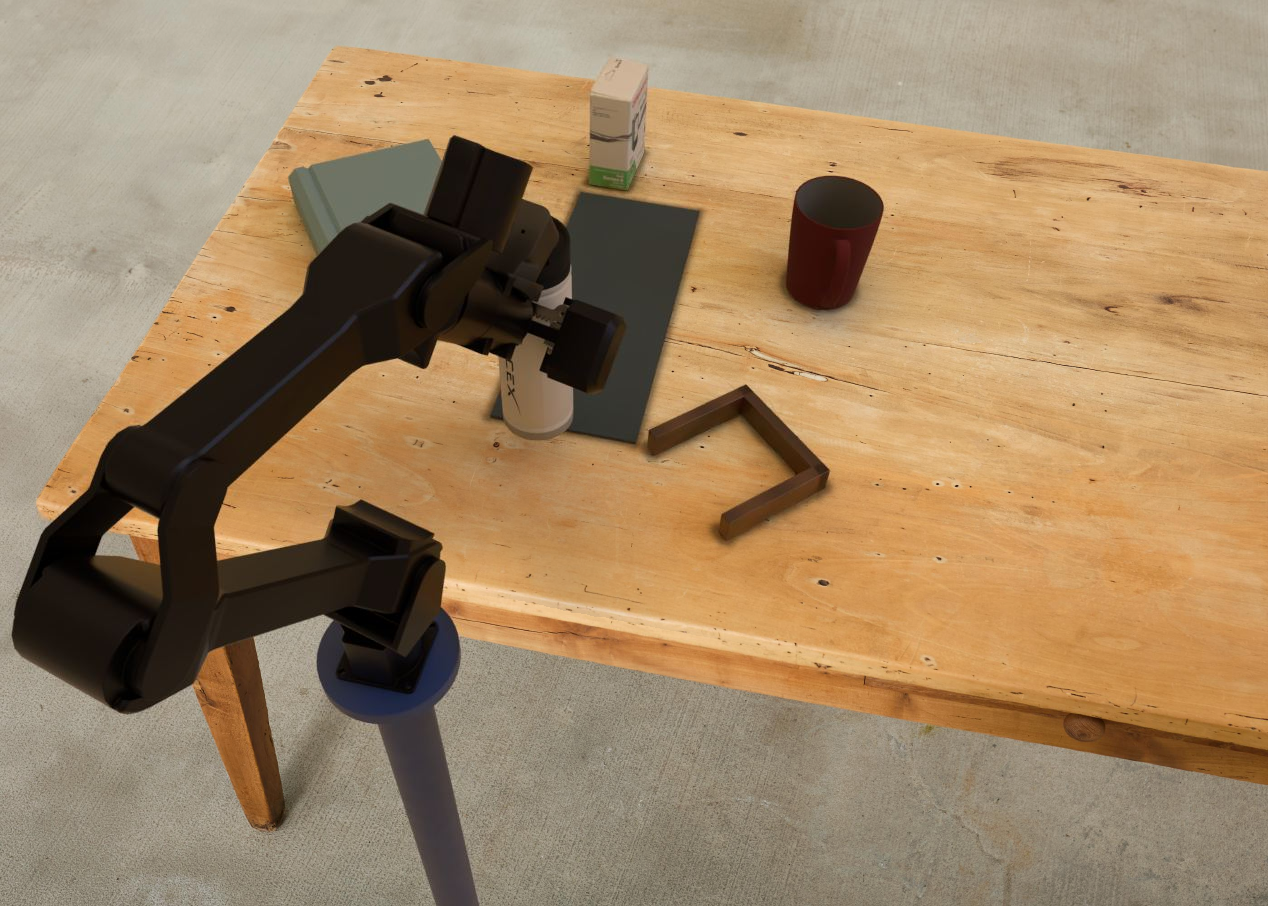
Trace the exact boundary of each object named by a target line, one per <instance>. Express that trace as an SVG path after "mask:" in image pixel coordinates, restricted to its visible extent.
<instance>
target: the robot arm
mask: <svg viewBox="0 0 1268 906" xmlns="http://www.w3.org/2000/svg"><path fill="white" fill-rule="evenodd" d="M443 153H444V154H443V156H442V158H441V160H442V162H441V165H440V168H439V171H438V173H437V176H436V179H435V182H434V185H433V188H432V191H431V194H430V196H429V199H428V202H427V205H426V208H425V211H424V214H420V213H418V212H415V211H412V210H410V209H407V208H404V207H401V206H399V205H396V204H393V203H388V204H387V205H385V206H384V207H382V208H381V209H379V210H378V211H376V212H375V213H373V214H372V215H370V216H368V215H367V216H366V217H365V218H364V219H363V220H362V221H361V222H357V223H353V224H351V225H349V226H347V227H346V228H344V229H343V230H342V231H341V232H340V233H338V234H337V235H336V236H335V237H334V239H333V240H332V241H331V242H330V243H329V244H328V245H327V246H326V247H325V248H324V249H323V250H322V251H321V252H320V253H319V254H318V255H317V254H316V256H314V258H313V259H312V260H311V261H310V262H309V264H308V265H307V267H306V272H305V277H304V278H305V279H304V282H303V287H302V293H301V295H300V296H299V297H298V298H297V299H296V300H295V301H294V303H293V304H291V306H290V307H288V308H287V309H286V310H285V311H284V312H283V313H281V314H280V315H279V316H278V317H277V318H275V319H274V320H272V322H270V323H269V324H267V325H266V326H265V327H264V328H263V329H261V330H260V331H259V332H258V333H256V334H255V335H254V336H253V337H251V338H250V339H249V340H248V341H247V342H246V343H244V344H243V345H242V346H240V347H239V348H238V349H237V350H235V351H234V352H233V353H231V354H230V355H229V356H228V357H226V358H225V359H223V361H222V362H221V363H219V364H218V365H216V366H215V367H214V368H213V369H212V370H210V371H209V372H208V373H207V374H205V375H204V376H203V377H202V378H200V379H199V380H198V381H197V382H196V383H194V384H193V385H192V386H191V387H189V388H188V389H187V390H186V391H184V392H183V393H182V394H181V395H179V396H178V397H177V398H175V399H174V400H173V401H172V402H171V403H170V404H168V405H167V406H165V408H163V409H162V410H161V411H160V412H158V413H157V414H156V415H155V416H153V417H152V418H151V419H149V420H148V421H147V422H146V423H143V424H142V425H141V424H134V425H128V426H126V427H125V428H123V429H121V430H120V431H119V430H118V432H116V433H115V434H114V436H113V437H111V438H110V440H109V441H108V442H107V443H106V445H105V447H104V449H103V451H102V453H101V454H100V458H98V459H99V460H98V462H97V465H96V468H95V470H94V473H93V476H92V479H91V481H90V484H89V487H88V488H87V489H86V490H85V491H83V493H82V494H81V495H80V496H79V497H78V498H77V499H75V500H74V501H73V502H72V503H71V504H70V505H69V506H68V507H67V508H66V509H65V510H64V511H62V512H61V513H60V514H59V515H58V516H57V517H55V518H54V520H52V521H51V522H50V523H49V524H48V525H47V526H46V527H45V528H44V529H43V531H41V533H40V536H39V538H38V541H37V544H36V546H35V549H34V552H33V555H32V557H31V560H30V563H29V566H28V568H27V571H26V574H25V576H24V579H23V582H22V585H21V588H20V590H19V593H18V595H17V599H16V601H15V606H14V610H13V617H14V618H13V620H12V629H11V639H12V644H13V648H14V650H15V651H16V652H17V653H18V654H19V656H20V657H21V658H22V659H24V660H26V661H28V662H30V663H31V664H33V665H34V666H37V667H38V668H40V669H42V670H44V671H45V672H46V673H49V674H51V675H52V676H54V677H55V678H57V679H59V680H61V681H63V683H66V684H68V685H69V686H71V687H73V688H75V689H76V690H78V691H80V692H81V693H83V694H85V695H87V696H89V697H90V698H92V699H94V700H96V701H97V702H98V703H99V702H100V703H101V704H103V705H104V706H106V707H108V708H109V709H112V710H113V711H115V712H117V713H118V714H122V715H126V716H127V715H133V714H139V713H141V712H144V711H145V710H147V709H150V708H152V707H154V706H156V705H158V704H159V703H161V702H163V701H165V700H167V699H169V698H170V697H172V696H174V695H176V694H178V693H180V692H181V691H184V690H185V689H187V688H189V687H190V686H193V685H194V684H195V683H196V680H197V679H198V676H199V674H200V672H201V669H202V667H203V665H204V663H205V661H206V659H207V656H208V654H209V653H211V652H212V651H215V650H219V649H221V648H224V647H227V646H230V645H233V644H237V643H239V642H242V641H245V640H249V639H252V638H255V637H258V636H261V635H264V634H268V633H270V632H273V631H276V630H277V631H278V630H280V629H283V628H286V627H289V626H292V625H295V624H299V623H301V622H302V623H303V622H305V621H307V620H311V619H314V618H317V617H320V616H325V617H327V618H328V619H331V621H333V620H334V621H336V622H338V623H340V624H341V628H342V631H343V634H344V635H343V638H342V642H343V645H344V648H345V651H344V653H343V656H342V658H341V660H340V662H339V665H338V667H337V669H336V672H335V673H336V676H337V678H338V679H340V680H343V681H348V682H353V683H357V684H362V685H367V686H371V687H376V688H381V689H386V690H390V691H395V692H400V693H404V694H412V693H414V692H415V690H416V688H417V685H418V683H419V680H420V677H421V675H422V672H423V670H424V667H425V664H426V662H427V659H428V656H429V654H430V651H431V648H432V646H433V643H434V641H435V638H436V635H437V633H438V630H439V626H438V623H437V622H435V621H433V620H434V619H435V617H436V616H437V615H438V613H439V612H440V609H441V607H442V601H443V594H444V585H445V579H446V573H447V572H446V570H447V565H446V562H445V560H443V559H442V558H441V553H442V551H443V550H444V549H443V548H444V546H443V543H441V541H439V540H437V539H435V538H434V537H435V532H432V531H430V530H429V529H426V528H424V527H421V526H419V525H418V524H415V523H414V522H411V521H409V520H407V519H404V518H402V517H401V516H398V515H396V514H394V513H391V512H390V511H387V510H386V509H383V508H382V507H379V506H377V505H374V504H373V503H370V502H368V501H367V500H364V499H359V500H357V501H356V502H355V503H352V504H349V505H340V504H336V505H335V509H334V513H333V518H331V519H330V520H329V522H328V525H327V527H326V529H325V530H326V531H325V534H324V537H323V538H321V539H315V540H311V541H307V542H302V543H301V542H300V543H297V544H292V545H286V546H282V547H277V548H271V549H267V550H264V551H263V550H262V551H258V552H257V551H256V552H253V553H248V554H247V553H246V554H243V555H238V556H234V557H228V558H224V559H219V560H218V555H217V543H216V532H215V526H216V522H217V520H218V517H219V514H220V511H221V509H222V507H223V504H224V502H225V498H226V496H227V493H228V488H229V487H230V486H231V485H232V484H233V483H234V482H236V481H237V480H238V479H239V478H240V477H241V476H242V475H243V474H244V473H245V472H247V470H249V469H250V468H251V467H252V466H253V465H254V464H255V463H256V462H257V461H258V460H259V459H261V458H262V457H263V456H264V455H265V454H266V453H267V452H268V451H270V450H271V448H272V447H274V446H275V445H276V444H277V443H279V441H280V440H281V439H282V438H283V437H285V436H286V435H287V434H288V433H289V432H290V431H291V430H292V429H293V428H294V427H296V426H297V424H299V423H300V422H301V421H302V420H303V419H305V417H306V416H308V415H309V413H311V412H312V411H313V410H314V409H315V408H316V407H318V406H319V405H320V404H321V403H322V402H323V401H324V400H325V399H326V398H327V397H328V396H329V395H331V393H332V392H334V391H335V390H336V389H337V388H338V387H339V386H341V384H342V383H343V382H345V381H346V380H347V379H348V378H349V377H350V376H351V375H352V374H354V373H355V372H356V371H358V370H359V369H361V368H362V367H366V366H368V365H369V366H370V365H373V364H378V363H383V362H388V361H389V362H390V361H392V360H399V361H402V362H405V363H407V364H408V365H412V366H414V367H417V368H419V369H421V370H426V369H427V368H428V367H429V365H430V363H431V360H432V356H433V354H434V351H435V348H436V345H437V342H443V343H448V344H453V345H456V346H459V347H461V348H464V349H467V350H469V351H472V352H475V353H476V354H479V355H482V356H489V355H490V354H491V355H493V356H496V357H498V356H499V357H501V358H504V359H507V360H511V359H512V356H513V353H514V350H515V348H516V346H520V345H521V344H522V341H523V339H524V338H525V336H526V335H527V333H529V334H532V335H534V336H537V337H539V338H542V339H545V340H544V343H543V345H546V346H548V347H547V350H546V353H545V355H544V358H543V361H542V364H541V367H540V369H539V371H541V372H543V373H546V374H547V378H550V379H552V380H555V381H557V382H560V383H562V384H565V385H567V386H570V387H572V388H575V389H577V390H580V391H582V392H585V393H589V394H596V393H598V392H600V391H602V390H604V387H605V385H606V382H607V379H608V376H609V374H610V371H611V368H612V366H613V363H614V360H615V357H616V355H617V352H618V349H619V347H620V344H621V341H622V338H623V336H624V333H625V330H626V328H627V325H626V323H625V321H624V318H623V317H622V316H619V315H617V314H614V313H612V312H609V311H606V310H604V309H601V308H598V307H595V306H593V305H590V304H587V303H585V302H582V301H579V300H577V299H575V300H573V299H570V298H568V297H565V300H564V303H563V304H562V305H559V306H557V307H556V308H555V309H549V308H547V307H544V306H541V305H539V304H536V303H534V302H538V301H539V298H540V295H541V293H542V290H543V287H544V286H542V285H539V284H537V283H536V281H537V278H538V275H539V274H540V272H541V271H542V269H543V267H544V265H545V263H546V261H547V259H548V257H549V256H550V254H551V252H552V250H553V248H554V247H556V245H557V243H558V240H559V234H558V231H557V229H556V226H555V224H554V222H553V219H552V217H551V216H552V215H551V212H550V211H549V209H548V208H547V207H546V206H544V205H542V204H539V203H537V202H536V203H535V202H533V201H530V200H527V199H525V198H524V195H525V192H526V189H527V187H528V184H529V181H530V178H531V175H532V173H533V171H534V170H533V169H534V167H533V165H531V164H530V163H528V162H526V161H524V160H522V159H519V158H516V157H512V156H510V155H506V154H504V153H501V152H498V151H495V150H493V149H490V148H488V147H486V146H484V145H482V144H481V143H479V142H476V141H473V140H470V139H467V138H465V137H461V136H459V135H455V134H453V135H451V136H450V137H449V139H448V142H447V145H446V148H445V150H444V152H443ZM532 301H534V302H532ZM535 315H536V318H539V317H540V320H543V319H544V318H545V321H546V322H548V321H549V323H551V324H550V326H547V325H544V324H542V323H539V322H537V321H534V320H532V319H533V317H534V316H535ZM554 321H556V322H554ZM134 508H136V509H138V510H140V511H142V512H143V513H146V514H147V515H150V516H151V517H154V518H156V519H158V522H157V528H156V529H157V530H156V533H157V543H158V545H157V546H158V555H159V564H157V563H153V562H150V561H144V560H140V559H135V558H131V557H126V556H121V555H106V554H105V555H102V554H101V555H100V554H97V552H98V549H99V547H100V544H101V541H102V538H103V536H104V535H106V533H108V531H110V530H111V529H112V528H113V527H114V526H115V525H117V524H118V522H120V521H121V520H122V519H123V518H124V517H125V516H127V514H129V513H130V512H131V511H132V510H133V509H134ZM431 626H434V627H435V628H434V629H430V627H431ZM342 671H344V672H345V673H344V674H343V675H340V673H341V672H342ZM407 686H412V688H411V689H407Z"/></svg>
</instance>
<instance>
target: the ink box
mask: <svg viewBox="0 0 1268 906" xmlns="http://www.w3.org/2000/svg"><path fill="white" fill-rule="evenodd" d="M649 70H650V65H649V64H647V63H643V62H637V61H632V60H627V59H622V58H617V57H609V58H607V60H606V63H605V64H604V66H603V67H602V69H601V71H600V72H599V74H598V76H597V77H596V79H595V81H594V82H593V84H592V86H591V87H590V92H589V141H588V142H589V145H588V147H589V150H588V151H589V153H588V156H589V157H588V166H589V167H588V169H589V171H588V175H589V177H588V178H589V179H588V182H589V185H593V186H597V187H598V186H599V187H602V188H603V187H604V188H609V189H616V190H623V191H628V190H629V188H630V185H631V183H632V182H633V179H634V176H635V175H636V171H637V170H638V167H639V165H640V163H641V160H642V158H643V156H644V154H645V140H646V138H645V137H646V124H647V123H646V122H647V104H648V103H647V102H648V85H649V84H648V83H649Z"/></svg>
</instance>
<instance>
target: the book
mask: <svg viewBox="0 0 1268 906" xmlns="http://www.w3.org/2000/svg"><path fill="white" fill-rule="evenodd" d="M441 162H442V158H441V157H440V155H439V154H438V152H437V150H436V149H435V147H434V145H433V143H432V142H431V140H430V138H426V139H420V140H417V141H412V142H407V143H403V144H399V145H394V146H390V147H385V148H381V149H375V150H371V151H367V152H362V153H358V154H357V153H356V154H354V155H348V156H344V157H340V158H335V159H330V160H327V161H322V162H317V163H313V164H310V165H309V167H308V168H307V167H305V166H298V167H294V169H293V170H292V171H291V173H290V174H289V175H288V176H287V179H288V183H289V188H290V191H291V195H292V199H293V203H294V205H295V207H296V209H297V212H298V214H299V217H300V219H301V221H302V224H303V225H304V228H305V230H306V232H307V235H308V236H309V239H310V242H311V244H312V246H313V249H314V251H315V253H316V256H317V255H318V254H319V253H320V252H321V251H322V250H323V249H324V248H325V247H326V246H327V245H328V244H329V243H330V242H331V241H332V240H333V239H334V237H335V236H336V235H337V234H338V233H340V232H341V231H342V230H343V229H344V228H346V227H347V226H349V225H351V224H353V223H357V222H361V221H362V220H363V219H364V218H365V217H366V216H367V215H368V216H370V215H372V214H373V213H375V212H376V211H378V210H379V209H381V208H382V207H384V206H385V205H387V204H388V203H393V204H396V205H399V206H401V207H404V208H407V209H410V210H412V211H415V212H418V213H420V214H424V211H425V208H426V205H427V202H428V199H429V196H430V194H431V191H432V188H433V185H434V182H435V179H436V176H437V173H438V171H439V168H440V165H441Z"/></svg>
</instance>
